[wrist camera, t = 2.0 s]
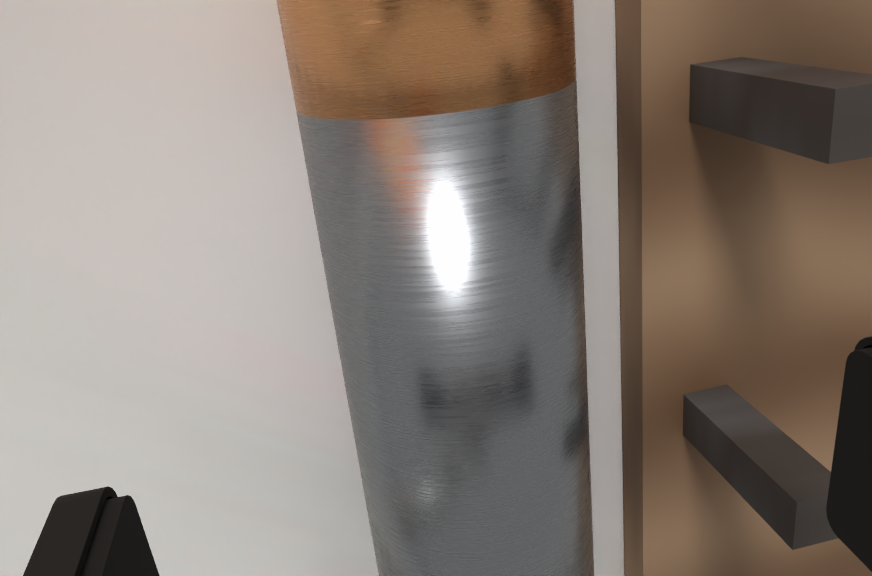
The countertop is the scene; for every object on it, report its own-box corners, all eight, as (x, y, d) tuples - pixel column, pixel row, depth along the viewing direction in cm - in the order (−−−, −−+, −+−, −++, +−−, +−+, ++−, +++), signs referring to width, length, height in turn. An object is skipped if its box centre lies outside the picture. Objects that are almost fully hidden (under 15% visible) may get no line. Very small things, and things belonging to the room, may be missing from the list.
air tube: (492, 582, 23) (643, 681, 19) (362, 693, 20) (512, 835, 16) (411, -194, 15) (639, -274, 11) (177, -209, 12) (387, -325, 8)
